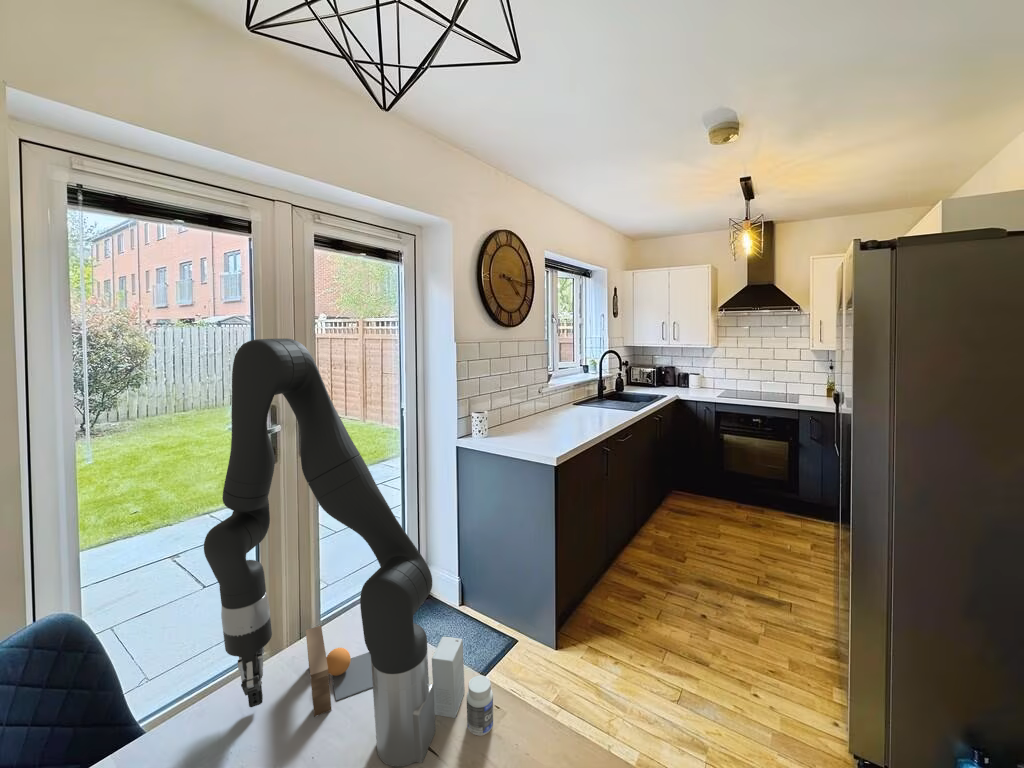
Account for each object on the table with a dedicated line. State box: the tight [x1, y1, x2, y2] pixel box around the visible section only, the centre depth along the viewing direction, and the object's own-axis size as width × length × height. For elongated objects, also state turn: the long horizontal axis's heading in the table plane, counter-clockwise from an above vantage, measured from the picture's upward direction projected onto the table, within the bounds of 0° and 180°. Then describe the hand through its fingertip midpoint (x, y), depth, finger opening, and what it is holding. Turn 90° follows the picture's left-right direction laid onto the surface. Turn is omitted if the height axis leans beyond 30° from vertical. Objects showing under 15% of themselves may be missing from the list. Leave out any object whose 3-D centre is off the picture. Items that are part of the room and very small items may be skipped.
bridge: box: [305, 625, 332, 718], centre depth 91 cm, size 3×14×9 cm, turn 27°
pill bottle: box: [466, 675, 494, 736], centre depth 82 cm, size 5×5×8 cm
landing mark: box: [331, 651, 373, 702], centre depth 95 cm, size 10×10×1 cm
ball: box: [326, 647, 352, 676], centre depth 95 cm, size 5×5×5 cm
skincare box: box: [431, 636, 466, 719], centre depth 87 cm, size 6×4×12 cm
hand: (256, 702), depth 86 cm, fingers closed
